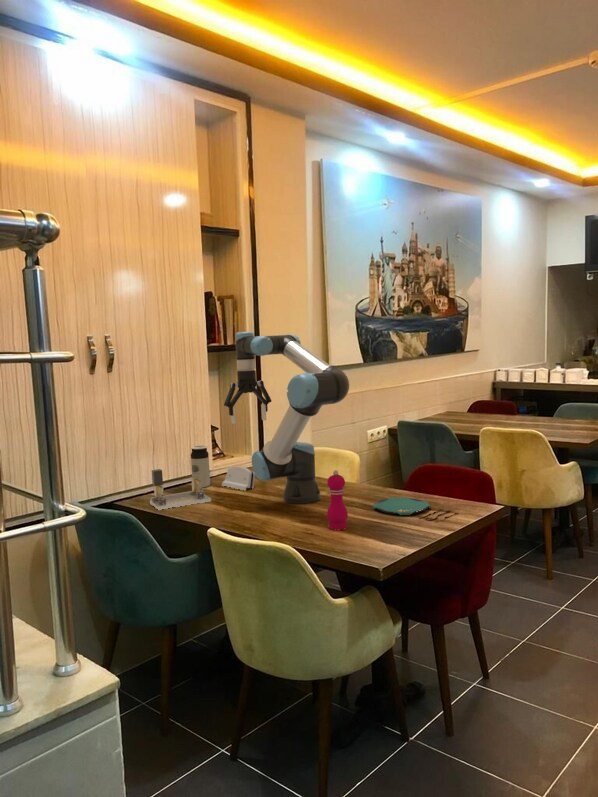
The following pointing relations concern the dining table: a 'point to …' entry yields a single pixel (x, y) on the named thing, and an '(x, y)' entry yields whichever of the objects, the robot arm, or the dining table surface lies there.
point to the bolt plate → (181, 497)
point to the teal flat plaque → (401, 505)
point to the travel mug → (200, 464)
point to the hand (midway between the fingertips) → (249, 421)
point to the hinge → (239, 478)
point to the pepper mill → (336, 502)
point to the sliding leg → (157, 482)
